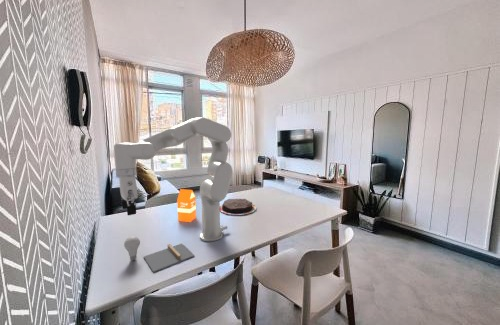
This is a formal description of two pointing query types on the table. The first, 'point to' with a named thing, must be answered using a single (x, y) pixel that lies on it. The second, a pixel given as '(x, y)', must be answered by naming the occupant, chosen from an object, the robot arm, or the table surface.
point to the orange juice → (186, 205)
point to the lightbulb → (132, 246)
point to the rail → (174, 251)
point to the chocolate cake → (237, 207)
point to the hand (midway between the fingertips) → (129, 211)
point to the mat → (167, 258)
